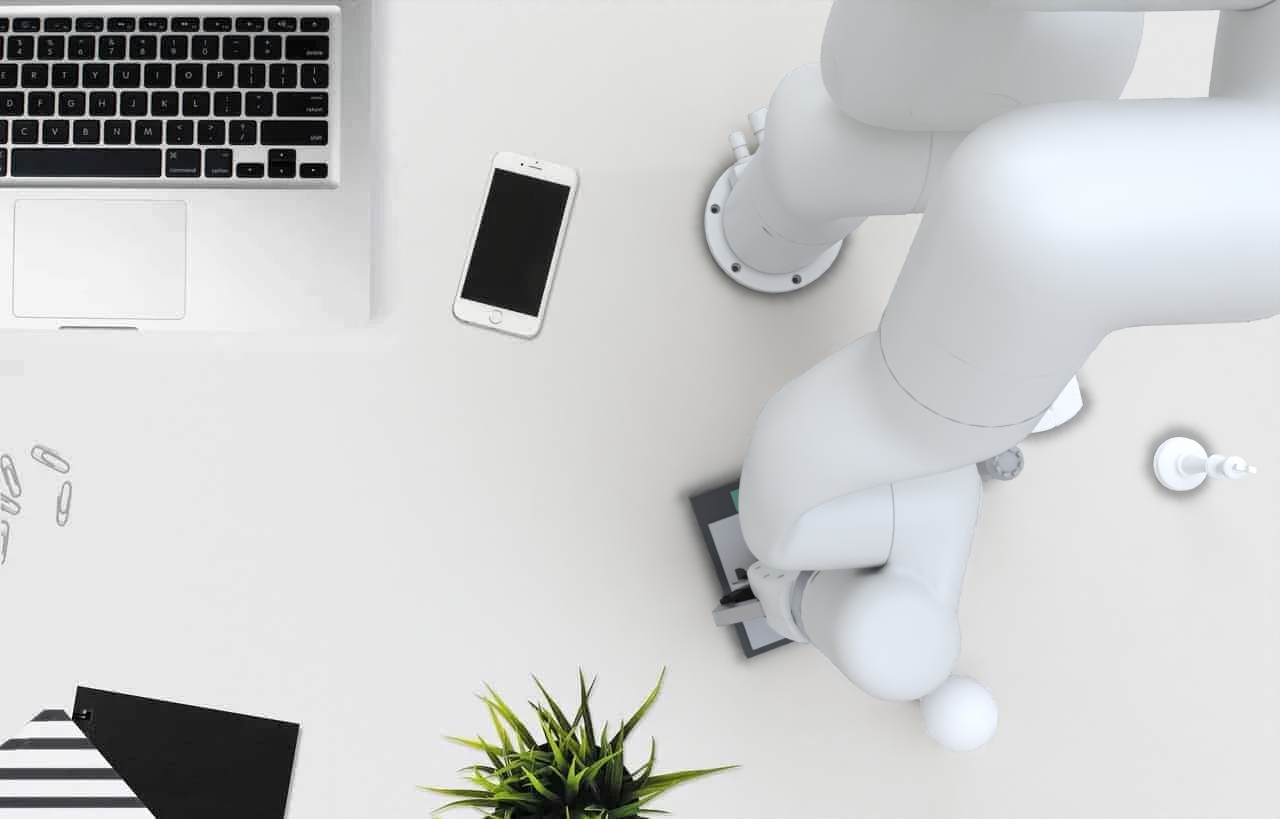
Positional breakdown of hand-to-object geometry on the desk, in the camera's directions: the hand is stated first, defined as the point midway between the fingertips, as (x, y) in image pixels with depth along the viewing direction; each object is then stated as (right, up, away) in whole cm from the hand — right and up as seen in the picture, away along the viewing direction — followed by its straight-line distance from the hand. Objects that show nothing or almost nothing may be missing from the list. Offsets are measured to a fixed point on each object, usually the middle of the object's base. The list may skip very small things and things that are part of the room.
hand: (796, 565), depth 86 cm
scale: (-1, +1, +4) cm, 4 cm away
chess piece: (+36, +8, +6) cm, 37 cm away
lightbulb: (+12, -12, +4) cm, 18 cm away
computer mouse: (+22, +17, +5) cm, 29 cm away
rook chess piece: (+17, +9, +5) cm, 20 cm away
